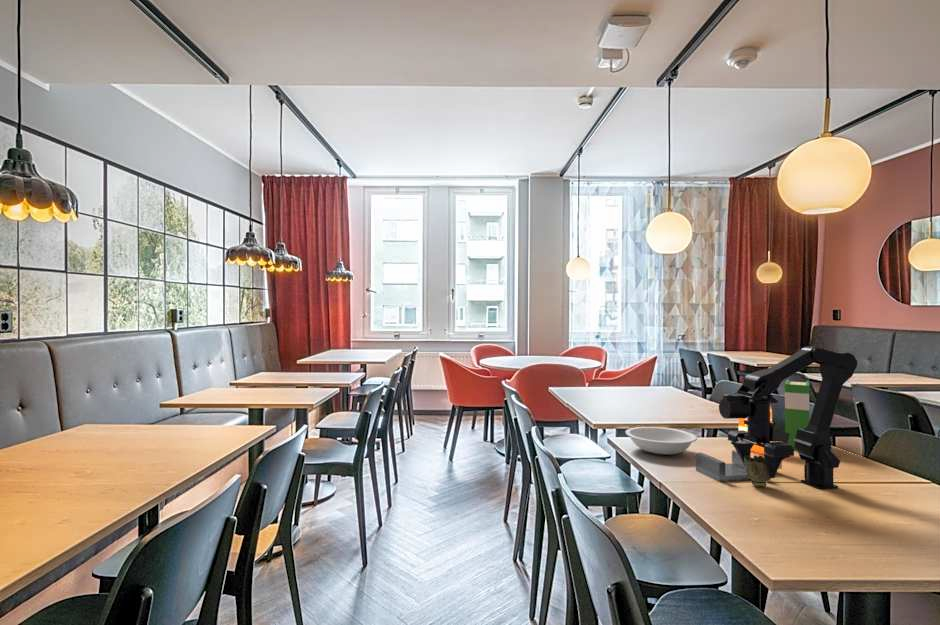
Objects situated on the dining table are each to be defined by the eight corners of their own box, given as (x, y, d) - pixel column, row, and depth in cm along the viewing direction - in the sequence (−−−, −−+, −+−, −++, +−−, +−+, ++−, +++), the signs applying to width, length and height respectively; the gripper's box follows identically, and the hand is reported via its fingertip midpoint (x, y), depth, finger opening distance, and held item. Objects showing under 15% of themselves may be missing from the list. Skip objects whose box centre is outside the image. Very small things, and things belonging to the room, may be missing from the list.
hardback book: (787, 439, 192) (786, 379, 193) (809, 441, 188) (809, 380, 189) (785, 448, 178) (784, 384, 178) (809, 451, 174) (809, 385, 174)
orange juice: (746, 445, 182) (746, 392, 183) (772, 450, 176) (772, 395, 176) (738, 448, 177) (737, 394, 178) (764, 454, 171) (764, 397, 171)
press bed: (764, 478, 144) (763, 460, 144) (719, 481, 141) (719, 462, 141) (737, 467, 154) (737, 450, 155) (695, 470, 152) (695, 452, 152)
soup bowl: (637, 461, 161) (637, 442, 161) (617, 443, 185) (617, 426, 185) (709, 462, 160) (709, 442, 160) (680, 444, 184) (680, 427, 184)
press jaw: (790, 471, 145) (789, 455, 145) (758, 473, 143) (757, 456, 143) (762, 461, 156) (761, 445, 156) (732, 462, 154) (731, 447, 154)
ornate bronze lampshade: (766, 482, 140) (765, 455, 141) (779, 491, 133) (779, 462, 133) (739, 481, 141) (739, 454, 141) (751, 490, 134) (751, 461, 134)
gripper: (811, 424, 130) (811, 481, 129) (758, 411, 148) (759, 461, 148) (775, 425, 128) (775, 484, 127) (726, 412, 146) (726, 463, 146)
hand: (759, 472), depth 137 cm, fingers open, 9 cm apart
